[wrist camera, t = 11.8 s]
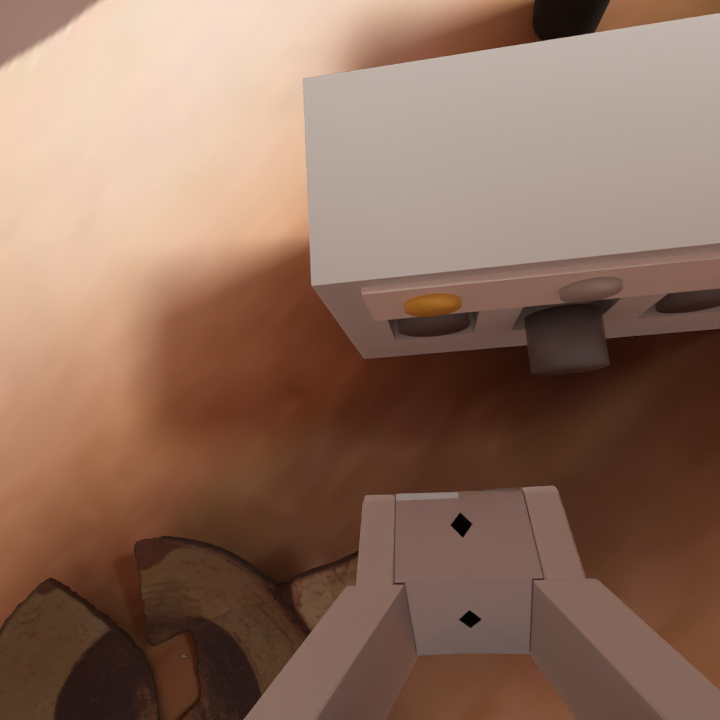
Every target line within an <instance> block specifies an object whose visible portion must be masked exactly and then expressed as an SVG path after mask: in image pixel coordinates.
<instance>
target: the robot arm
mask: <svg viewBox="0 0 720 720" xmlns="http://www.w3.org/2000/svg"><path fill="white" fill-rule="evenodd" d="M472 652H473V653H492V654H530V657H531V659H532V660H533V661H534V663H535V664H536V666H537V667H538V668H539V670H540V671H541V672H542V674H543V675H544V676H545V678H546V679H547V680H548V682H549V683H550V684H551V686H552V687H553V688H554V690H555V691H556V692H557V694H558V695H559V696H560V698H561V699H562V700H563V702H564V703H565V704H566V706H567V707H568V709H569V710H570V711H571V713H572V714H573V715H574V717H575V718H576V719H577V720H720V690H719V689H718V688H717V687H716V686H715V685H713V684H712V683H711V682H710V681H709V680H708V679H707V678H706V677H705V676H704V675H702V674H701V673H700V672H699V671H698V670H697V669H696V668H695V667H694V666H693V665H691V664H690V663H689V662H688V661H687V660H686V659H685V658H684V657H683V656H682V655H680V654H679V653H678V652H677V651H676V650H675V649H674V648H673V647H672V646H671V645H669V644H668V643H667V642H666V641H665V640H664V639H663V638H662V637H661V636H660V635H658V634H657V633H656V632H655V631H654V630H653V629H652V628H651V627H650V626H649V625H647V624H646V623H645V622H644V621H643V620H642V619H641V618H640V617H639V616H638V615H636V614H635V613H634V612H633V611H632V610H631V609H630V608H629V607H628V606H627V605H625V604H624V603H623V602H622V601H621V600H620V599H619V598H618V597H617V596H616V595H614V594H613V593H612V592H611V591H610V590H609V589H608V588H607V587H606V586H605V585H603V584H602V583H601V582H600V581H599V580H598V579H586V577H585V573H584V570H583V567H582V564H581V561H580V558H579V555H578V551H577V548H576V545H575V542H574V539H573V536H572V532H571V529H570V526H569V523H568V520H567V517H566V513H565V510H564V507H563V504H562V501H561V498H560V494H559V491H558V490H557V489H556V487H555V486H537V487H522V488H521V489H520V487H515V488H499V489H484V490H469V491H457V492H442V493H407V494H387V495H365V498H364V501H363V506H362V518H361V530H360V542H359V554H358V566H357V579H356V586H346V587H345V589H344V590H343V591H342V593H341V594H340V595H339V596H338V598H337V599H336V600H335V602H334V603H333V604H332V606H331V607H330V608H329V609H328V611H327V612H326V613H325V615H324V616H323V617H322V619H321V620H320V621H319V622H318V624H317V625H316V626H315V628H314V629H313V630H312V632H311V633H310V634H309V635H308V637H307V638H306V639H305V641H304V642H303V643H302V645H301V646H300V647H299V648H298V650H297V651H296V652H295V654H294V655H293V656H292V658H291V659H290V660H289V661H288V663H287V664H286V665H285V667H284V668H283V669H282V671H281V672H280V673H279V674H278V676H277V677H276V678H275V680H274V681H273V682H272V683H271V685H270V686H269V687H268V689H267V690H266V691H265V693H264V694H263V695H262V696H261V698H260V699H259V700H258V702H257V703H256V704H255V706H254V707H253V708H252V709H251V711H250V712H249V713H248V715H247V716H246V717H245V719H244V720H386V719H387V717H388V715H389V713H390V711H391V709H392V708H393V706H394V704H395V702H396V700H397V698H398V696H399V694H400V692H401V690H402V688H403V686H404V684H405V682H406V680H407V678H408V676H409V675H410V673H411V671H412V669H413V667H414V665H415V663H416V661H417V655H440V654H464V653H472Z"/></svg>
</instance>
